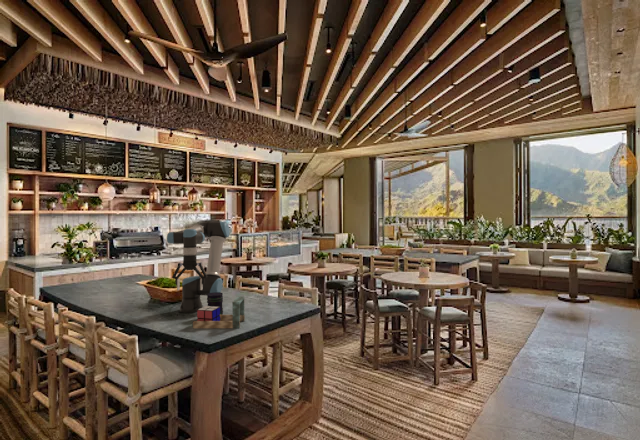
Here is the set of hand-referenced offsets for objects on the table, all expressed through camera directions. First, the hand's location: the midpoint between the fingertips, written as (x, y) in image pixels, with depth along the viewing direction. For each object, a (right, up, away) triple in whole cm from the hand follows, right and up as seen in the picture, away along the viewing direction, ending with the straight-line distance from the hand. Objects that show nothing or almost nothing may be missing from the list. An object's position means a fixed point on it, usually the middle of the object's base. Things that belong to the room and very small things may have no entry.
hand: (189, 289), depth 230 cm
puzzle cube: (+12, -21, -1) cm, 24 cm away
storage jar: (+11, -21, +17) cm, 29 cm away
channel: (+18, -21, -1) cm, 27 cm away
